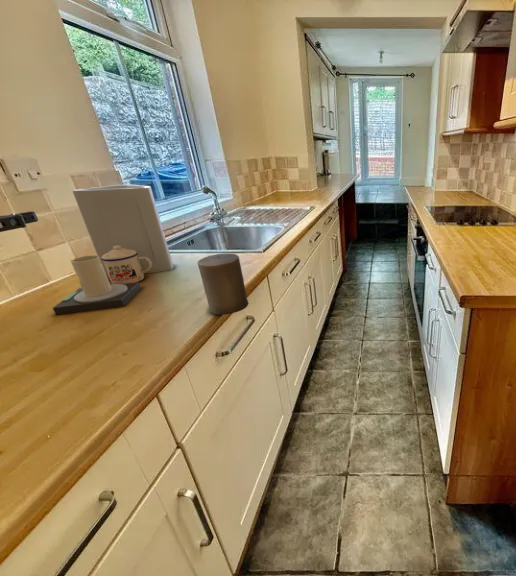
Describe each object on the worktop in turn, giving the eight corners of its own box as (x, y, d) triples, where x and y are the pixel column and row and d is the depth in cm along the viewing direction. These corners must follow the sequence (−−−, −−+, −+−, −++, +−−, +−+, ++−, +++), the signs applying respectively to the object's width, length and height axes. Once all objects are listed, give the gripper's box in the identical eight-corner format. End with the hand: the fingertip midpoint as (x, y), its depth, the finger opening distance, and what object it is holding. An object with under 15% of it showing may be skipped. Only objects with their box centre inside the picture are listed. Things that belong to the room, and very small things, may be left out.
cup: (80, 297, 86) (65, 263, 82) (91, 289, 91) (77, 256, 87) (106, 295, 87) (92, 260, 83) (115, 287, 92) (103, 254, 88)
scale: (55, 314, 82) (51, 306, 81) (81, 294, 94) (78, 286, 93) (123, 306, 87) (120, 298, 86) (140, 288, 98) (138, 280, 97)
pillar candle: (256, 302, 89) (246, 250, 83) (229, 318, 80) (216, 262, 74) (229, 296, 92) (218, 246, 86) (200, 311, 84) (186, 257, 78)
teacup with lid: (107, 288, 98) (93, 251, 93) (115, 278, 106) (102, 244, 101) (153, 281, 103) (142, 246, 98) (157, 272, 110) (147, 239, 105)
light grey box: (177, 257, 125) (156, 183, 114) (172, 269, 113) (148, 187, 101) (117, 264, 118) (88, 185, 106) (105, 278, 105) (71, 191, 94)
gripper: (-60, 212, 53) (40, 198, 68) (-140, 212, 53) (-24, 198, 68) (-36, 255, 56) (54, 233, 71) (-112, 255, 57) (-7, 232, 71)
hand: (16, 216), depth 70 cm, fingers open, 8 cm apart
